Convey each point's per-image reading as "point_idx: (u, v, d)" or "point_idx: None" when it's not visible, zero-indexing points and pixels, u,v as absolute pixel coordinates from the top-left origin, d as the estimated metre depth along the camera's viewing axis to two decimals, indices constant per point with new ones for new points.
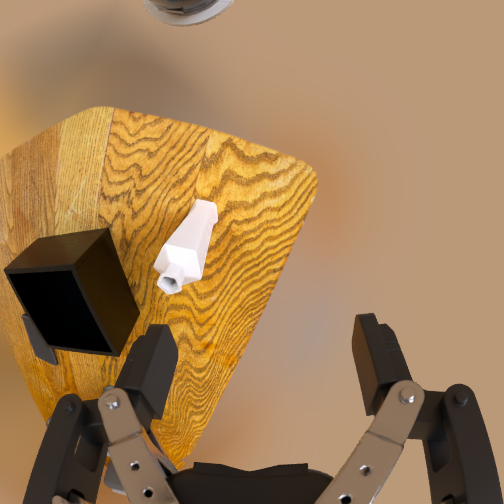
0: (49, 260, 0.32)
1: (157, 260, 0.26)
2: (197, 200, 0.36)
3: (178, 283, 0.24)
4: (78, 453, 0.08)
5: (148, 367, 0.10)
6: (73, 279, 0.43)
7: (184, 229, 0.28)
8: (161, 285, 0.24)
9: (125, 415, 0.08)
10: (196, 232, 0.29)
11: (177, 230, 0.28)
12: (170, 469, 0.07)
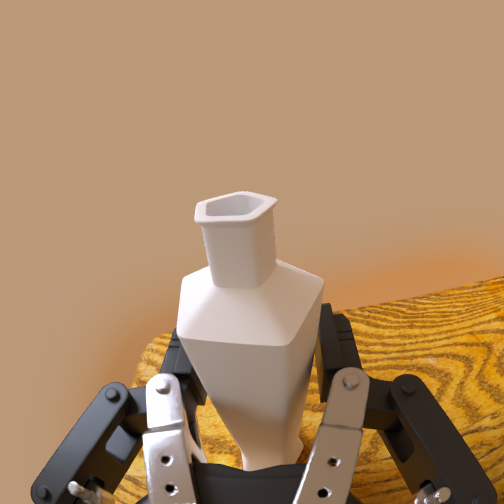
0: None
1: (247, 337, 0.07)
2: (244, 468, 0.14)
3: (220, 197, 0.08)
4: (111, 439, 0.09)
5: None
6: None
7: None
8: (251, 215, 0.07)
9: (171, 403, 0.08)
10: None
11: (207, 391, 0.09)
12: None
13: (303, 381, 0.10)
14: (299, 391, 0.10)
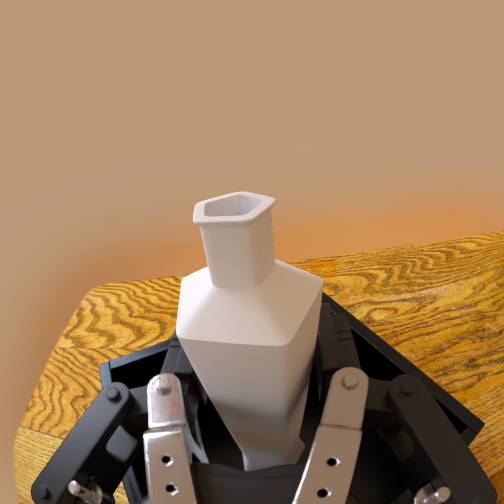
0: None
1: (246, 337, 0.07)
2: (245, 468, 0.14)
3: (218, 197, 0.08)
4: (112, 438, 0.09)
5: None
6: None
7: None
8: (248, 215, 0.07)
9: (172, 403, 0.08)
10: None
11: (207, 392, 0.09)
12: None
13: (303, 381, 0.10)
14: (299, 391, 0.10)
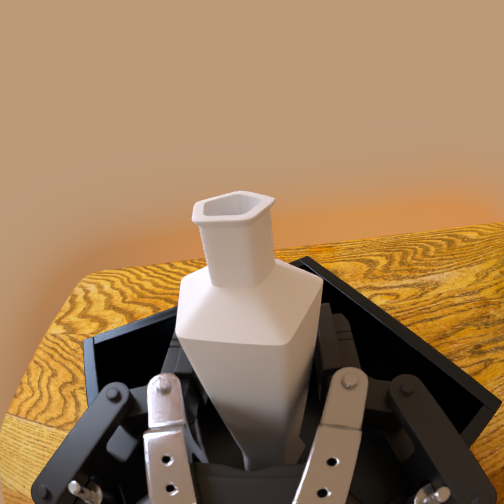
0: None
1: (246, 337, 0.07)
2: (245, 468, 0.14)
3: (217, 197, 0.08)
4: (112, 438, 0.09)
5: None
6: None
7: None
8: (248, 215, 0.07)
9: (172, 403, 0.08)
10: None
11: (207, 392, 0.09)
12: None
13: (303, 381, 0.10)
14: (299, 391, 0.10)
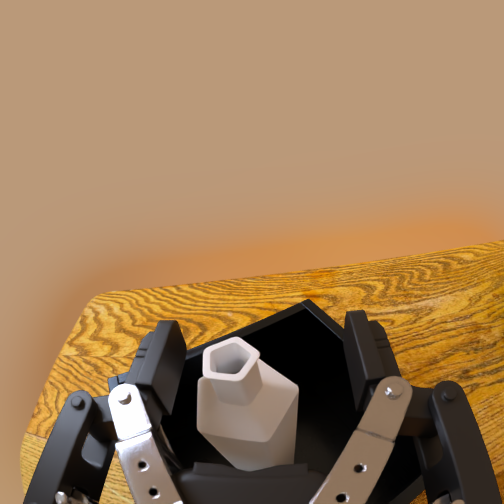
0: None
1: (242, 435, 0.10)
2: None
3: (219, 344, 0.11)
4: (85, 449, 0.08)
5: (159, 362, 0.10)
6: None
7: None
8: (240, 372, 0.10)
9: (135, 411, 0.08)
10: None
11: None
12: (177, 467, 0.08)
13: (288, 442, 0.13)
14: (285, 449, 0.12)
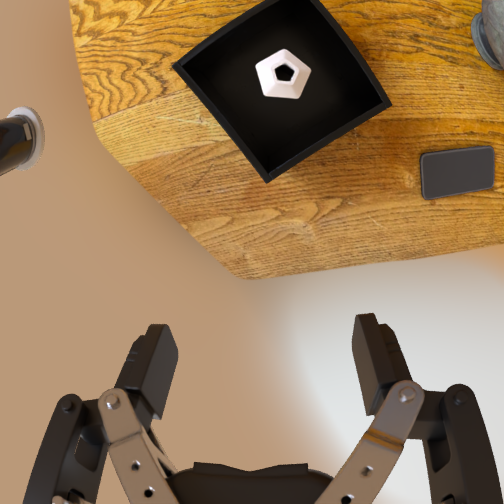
0: None
1: (287, 96, 0.22)
2: None
3: (277, 64, 0.19)
4: (78, 453, 0.08)
5: (148, 367, 0.10)
6: None
7: None
8: (291, 79, 0.19)
9: (125, 415, 0.08)
10: None
11: None
12: (170, 469, 0.07)
13: None
14: None
